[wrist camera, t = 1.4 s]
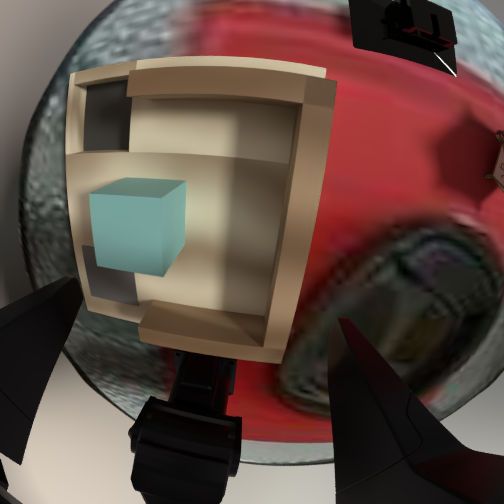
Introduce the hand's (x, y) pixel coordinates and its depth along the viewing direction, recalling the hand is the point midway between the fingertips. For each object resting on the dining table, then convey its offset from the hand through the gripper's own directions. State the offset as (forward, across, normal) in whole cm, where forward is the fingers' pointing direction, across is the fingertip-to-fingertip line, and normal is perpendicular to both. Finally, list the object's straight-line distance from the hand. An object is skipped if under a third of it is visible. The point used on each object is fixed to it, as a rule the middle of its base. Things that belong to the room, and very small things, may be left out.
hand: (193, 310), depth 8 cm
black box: (+14, -11, -15) cm, 23 cm away
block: (+10, +6, +1) cm, 12 cm away
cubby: (+10, +1, +1) cm, 10 cm away
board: (+12, +4, +1) cm, 13 cm away
